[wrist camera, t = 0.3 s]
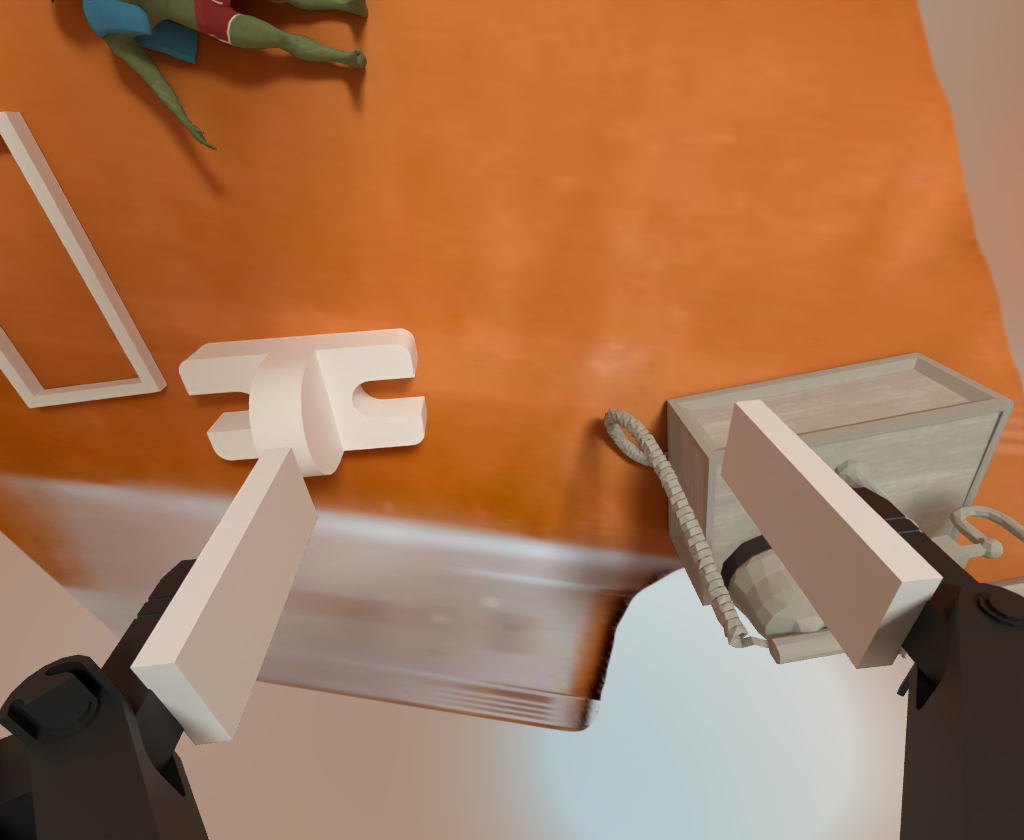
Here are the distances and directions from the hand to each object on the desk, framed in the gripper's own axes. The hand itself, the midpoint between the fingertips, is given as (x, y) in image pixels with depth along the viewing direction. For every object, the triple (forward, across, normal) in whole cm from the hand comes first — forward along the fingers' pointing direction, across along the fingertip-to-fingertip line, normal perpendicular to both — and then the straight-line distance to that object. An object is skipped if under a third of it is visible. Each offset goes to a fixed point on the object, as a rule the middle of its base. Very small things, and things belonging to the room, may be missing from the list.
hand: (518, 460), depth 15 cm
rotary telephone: (+28, +26, -22) cm, 44 cm away
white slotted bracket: (+28, -16, -10) cm, 34 cm away
